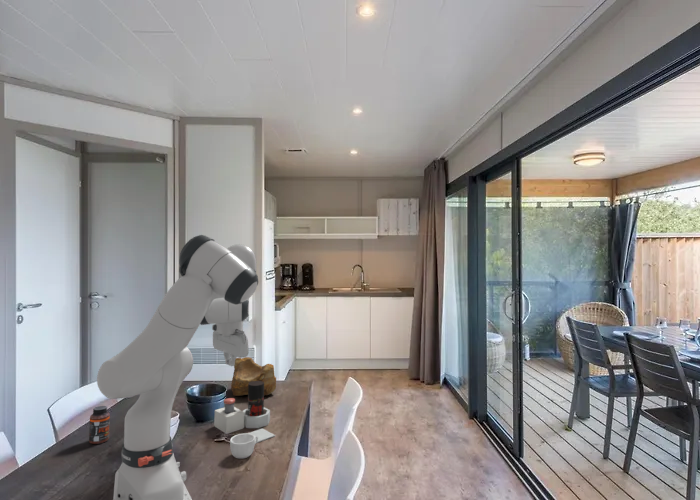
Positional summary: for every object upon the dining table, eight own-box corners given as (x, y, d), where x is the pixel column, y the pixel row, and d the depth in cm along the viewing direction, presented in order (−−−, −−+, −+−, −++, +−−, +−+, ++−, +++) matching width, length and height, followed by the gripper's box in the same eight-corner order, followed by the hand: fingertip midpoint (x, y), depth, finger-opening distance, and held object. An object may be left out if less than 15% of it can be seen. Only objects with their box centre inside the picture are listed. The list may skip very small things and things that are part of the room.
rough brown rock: (215, 396, 190) (215, 364, 189) (242, 383, 204) (241, 353, 203) (254, 407, 179) (254, 373, 177) (279, 393, 193) (279, 361, 192)
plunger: (236, 415, 155) (237, 400, 155) (226, 418, 152) (227, 402, 152) (231, 412, 158) (231, 397, 158) (221, 415, 155) (221, 399, 155)
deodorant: (244, 423, 158) (244, 384, 158) (254, 418, 163) (255, 379, 163) (256, 427, 155) (257, 386, 155) (266, 421, 161) (267, 382, 161)
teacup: (239, 464, 128) (240, 446, 128) (224, 456, 133) (225, 439, 133) (264, 452, 136) (265, 435, 136) (249, 445, 141) (250, 429, 141)
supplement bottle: (99, 445, 139) (100, 411, 139) (84, 443, 140) (85, 410, 140) (113, 438, 144) (114, 405, 144) (98, 436, 146) (99, 403, 146)
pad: (275, 436, 148) (275, 435, 148) (255, 443, 142) (255, 442, 142) (262, 429, 153) (262, 428, 153) (243, 435, 148) (243, 434, 148)
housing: (274, 422, 159) (274, 407, 159) (231, 437, 146) (231, 420, 146) (256, 413, 168) (256, 398, 168) (214, 426, 155) (214, 410, 155)
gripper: (253, 330, 150) (252, 369, 150) (225, 323, 164) (224, 358, 164) (237, 332, 145) (236, 372, 145) (209, 324, 160) (209, 361, 160)
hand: (230, 364), depth 155 cm, fingers closed
